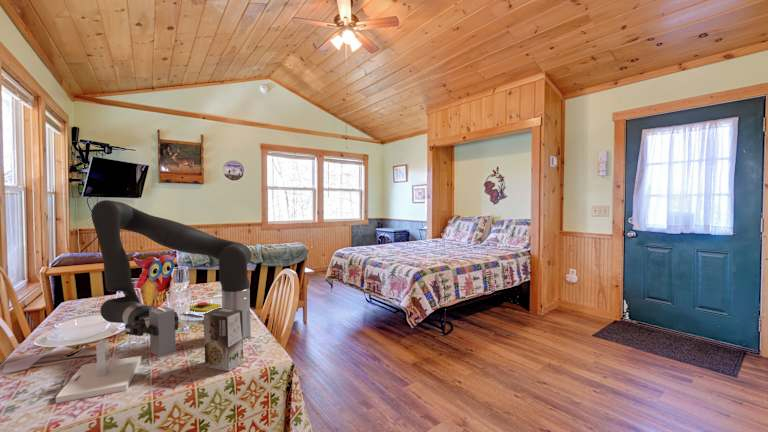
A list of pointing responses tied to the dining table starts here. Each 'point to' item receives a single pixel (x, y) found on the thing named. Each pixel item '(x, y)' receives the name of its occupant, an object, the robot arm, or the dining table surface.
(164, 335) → the tall gray prism
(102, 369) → the post
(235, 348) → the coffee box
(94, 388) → the shaft base
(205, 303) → the emergency button
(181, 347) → the dining table surface
